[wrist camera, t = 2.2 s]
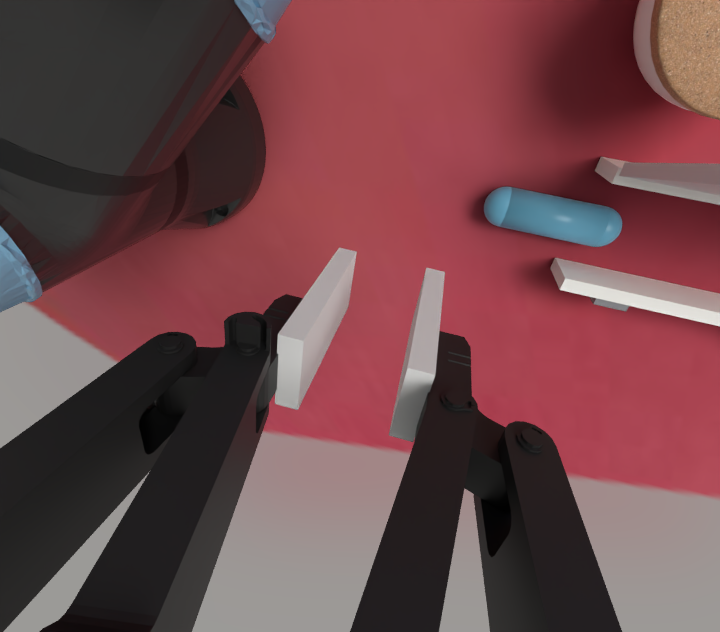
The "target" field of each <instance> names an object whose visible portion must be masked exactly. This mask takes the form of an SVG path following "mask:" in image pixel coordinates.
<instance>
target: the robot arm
mask: <svg viewBox="0 0 720 632" xmlns="http://www.w3.org/2000/svg"><path fill="white" fill-rule="evenodd" d="M290 2H291V0H0V312H2V311H4V310H6V309H8V308H10V307H13V306H15V305H17V304H19V303H22V302H33V301H35V300H36V299H38V298H39V297H40V296H42V293H43V292H44V291H46V290H48V289H50V288H52V287H54V286H56V285H58V284H60V283H62V282H63V281H65V280H67V279H69V278H71V277H73V276H75V275H77V274H79V273H80V272H82V271H84V270H86V269H88V268H90V267H92V266H94V265H96V264H98V263H99V262H101V261H103V260H105V259H107V258H109V257H111V256H113V255H115V254H116V253H118V252H120V251H122V250H124V249H126V248H128V247H130V246H132V245H134V244H135V243H137V242H139V241H141V240H143V239H145V238H147V237H149V236H151V235H153V234H154V233H156V232H158V231H160V230H166V229H197V228H205V227H210V226H213V225H216V224H219V223H221V222H223V221H225V220H227V219H228V218H230V217H232V216H233V215H235V214H236V213H238V212H239V211H241V210H242V209H243V208H244V207H245V206H246V205H247V204H248V203H249V202H250V201H251V199H252V198H253V197H254V195H255V193H256V191H257V190H258V187H259V185H260V182H261V180H262V176H263V172H264V167H265V157H266V146H265V136H264V130H263V125H262V121H261V118H260V114H259V111H258V108H257V106H256V104H255V101H254V99H253V97H252V95H251V93H250V91H249V89H248V87H247V86H246V84H245V82H244V81H243V79H242V78H241V76H240V74H241V73H242V71H243V70H244V69H245V67H246V66H247V65H248V64H249V62H250V61H251V60H252V58H253V57H254V56H255V54H256V53H257V52H258V50H259V49H260V48H261V46H262V45H263V44H264V43H265V42H266V43H267V44H269V43H270V42H271V40H272V39H273V38H274V36H275V34H276V24H277V23H278V21H279V20H280V18H281V16H282V15H283V13H284V12H285V10H286V8H287V7H288V5H289V4H290ZM356 253H357V252H356V251H351V250H347V249H343V248H339V249H338V250H337V251H336V253H335V254H334V256H333V257H332V259H331V260H330V261H329V263H328V264H327V266H326V267H325V268H324V270H323V271H322V273H321V274H320V275H319V277H318V278H317V280H316V281H315V283H314V284H313V285H312V287H311V288H310V290H309V291H308V292H307V294H306V295H305V297H304V298H299V297H295V296H291V295H287V294H286V295H284V296H282V297H280V298H278V299H276V300H274V302H273V303H272V304H271V305H270V306H269V308H268V309H267V310H266V311H265V312H264V314H263V315H262V314H259V313H255V312H241V313H236V314H234V315H231V316H229V317H228V318H227V319H226V320H225V321H224V329H225V346H224V347H218V348H209V347H196V341H195V340H194V338H193V337H192V336H190V335H188V334H186V333H181V332H168V333H164V334H160V335H157V336H156V337H154V338H152V339H150V340H149V341H147V342H146V343H145V344H143V345H142V346H141V347H139V348H138V349H136V350H135V351H134V352H132V353H131V354H130V355H128V356H127V357H125V358H124V359H123V360H121V361H120V362H119V363H117V364H116V365H114V366H113V367H112V368H111V369H109V370H108V371H106V372H105V373H103V374H102V375H101V376H100V377H98V378H97V379H95V380H94V381H92V382H91V383H90V384H88V385H87V386H86V387H84V388H83V389H81V390H80V391H79V392H77V393H76V394H75V395H73V396H72V397H70V398H69V399H68V400H66V401H65V402H64V403H62V404H61V405H60V406H58V407H57V408H56V409H54V410H53V411H51V412H50V413H49V414H47V415H46V416H44V417H43V418H42V419H40V420H39V421H38V422H36V423H35V424H33V425H32V426H31V427H29V428H28V429H26V430H25V431H24V432H22V433H21V434H20V435H19V436H17V437H15V438H14V439H13V440H11V441H10V442H9V443H7V444H6V445H4V446H3V447H2V448H0V632H3V631H4V630H5V629H6V628H7V627H8V626H9V625H10V624H11V622H12V621H13V620H14V619H15V618H16V617H17V616H18V615H19V614H20V613H21V612H22V610H23V609H24V608H25V607H26V606H27V605H28V604H29V603H30V602H31V601H32V599H33V598H34V597H35V596H36V595H37V594H38V593H39V592H40V591H41V590H42V588H43V587H44V586H45V585H46V584H47V583H48V582H49V581H50V580H51V579H52V578H53V577H54V575H55V574H56V573H57V572H58V571H59V570H60V569H61V568H62V567H63V566H64V564H65V563H66V562H67V561H68V560H69V559H70V558H71V557H72V556H73V555H74V554H75V552H76V551H77V550H78V549H79V548H80V547H81V546H82V545H83V544H84V543H85V541H86V540H87V539H88V538H89V537H90V536H91V535H92V534H93V533H94V531H96V529H97V528H98V527H99V526H100V525H101V524H102V523H103V522H104V521H105V519H106V518H107V517H108V516H109V515H110V514H111V513H112V512H113V511H114V510H115V509H116V508H117V506H118V505H119V504H120V503H121V502H122V501H123V500H124V499H125V498H126V496H127V495H128V494H129V493H130V492H131V491H132V490H133V489H134V488H135V487H136V486H137V484H138V483H139V482H140V481H141V480H142V479H143V478H144V477H145V476H146V475H147V474H148V472H149V471H150V470H151V471H150V472H149V474H148V476H147V478H146V479H145V481H144V483H143V484H142V486H141V488H140V490H139V491H138V493H137V495H136V496H135V498H134V500H133V501H132V503H131V505H130V506H129V508H128V510H127V511H126V513H125V515H124V516H123V518H122V520H121V522H120V523H119V525H118V527H117V528H116V530H115V532H114V533H113V535H112V537H111V538H110V540H109V542H108V543H107V545H106V547H105V549H104V550H103V552H102V554H101V555H100V557H99V559H98V561H97V562H96V564H95V565H94V567H93V569H92V571H91V572H90V574H89V576H88V577H87V579H86V581H85V582H84V584H83V586H82V588H81V589H80V591H79V592H78V594H77V596H76V598H75V599H74V601H73V603H72V604H71V606H70V607H69V609H68V610H67V612H66V613H65V614H64V615H63V616H62V617H61V618H60V619H59V620H58V621H56V622H55V623H53V624H51V625H49V626H47V627H45V628H43V629H42V630H41V631H40V632H192V629H193V627H194V624H195V621H196V618H197V615H198V612H199V609H200V607H201V604H202V601H203V598H204V595H205V593H206V590H207V587H208V584H209V581H210V578H211V576H212V573H213V569H214V567H215V564H216V561H217V558H218V556H219V553H220V550H221V547H222V544H223V541H224V539H225V536H226V533H227V530H228V527H229V525H230V522H231V519H232V516H233V513H234V510H235V507H236V505H237V502H238V499H239V496H240V493H241V491H242V488H243V485H244V482H245V479H246V476H247V473H248V471H249V468H250V465H251V462H252V459H253V457H254V454H255V451H256V448H257V445H258V442H259V440H260V437H261V434H262V431H263V428H264V425H265V423H266V420H267V417H268V414H269V402H270V400H271V398H272V397H273V395H274V393H275V404H278V405H282V406H285V407H289V408H292V409H296V410H298V408H299V406H300V404H301V402H302V400H303V398H304V396H305V394H306V392H307V390H308V388H309V386H310V384H311V382H312V380H313V378H314V376H315V374H316V372H317V370H318V368H319V366H320V364H321V362H322V359H323V357H324V355H325V353H326V351H327V349H328V347H329V345H330V343H331V341H332V339H333V337H334V335H335V333H336V331H337V329H338V327H339V325H340V323H341V321H342V319H343V317H344V315H345V313H346V311H347V309H348V305H349V299H350V292H351V286H352V279H353V273H354V266H355V260H356ZM444 276H445V272H443V271H438V270H434V269H430V268H426V271H425V275H424V279H423V283H422V286H421V290H420V294H419V298H418V302H417V305H416V309H415V313H414V317H413V320H412V325H411V329H410V334H409V339H408V344H407V349H406V354H405V359H404V364H403V368H402V373H401V378H400V383H399V388H398V393H397V398H396V402H395V407H394V412H393V417H392V422H391V427H390V432H389V435H390V436H393V437H397V438H400V439H404V440H408V441H411V442H413V441H414V438H415V442H414V445H413V448H412V451H411V454H410V457H409V460H408V463H407V466H406V469H405V472H404V475H403V478H402V481H401V484H400V487H399V490H398V492H397V495H396V499H395V501H394V504H393V507H392V510H391V513H390V516H389V519H388V522H387V525H386V528H385V531H384V534H383V537H382V540H381V542H380V545H379V548H378V551H377V554H376V557H375V560H374V563H373V566H372V569H371V572H370V575H369V578H368V581H367V584H366V587H365V590H364V592H363V595H362V598H361V601H360V604H359V607H358V610H357V613H356V616H355V619H354V622H353V625H352V628H351V631H350V632H439V627H440V621H441V616H442V610H443V604H444V598H445V593H446V588H447V582H448V576H449V570H450V565H451V559H452V554H453V548H454V543H455V537H456V532H457V526H458V520H459V515H460V509H461V503H462V498H463V492H464V488H465V489H467V490H468V491H470V492H472V493H473V494H474V503H475V511H476V519H477V528H478V536H479V544H480V552H481V560H482V568H483V577H484V585H485V593H486V601H487V609H488V617H489V626H490V632H622V630H621V628H620V625H619V622H618V619H617V616H616V614H615V611H614V608H613V605H612V602H611V600H610V597H609V594H608V591H607V588H606V585H605V582H604V580H603V577H602V574H601V571H600V568H599V566H598V563H597V560H596V557H595V554H594V552H593V549H592V546H591V543H590V540H589V537H588V535H587V532H586V529H585V526H584V523H583V520H582V518H581V515H580V512H579V509H578V506H577V504H576V501H575V498H574V495H573V493H572V489H571V487H570V484H569V481H568V478H567V475H566V473H565V470H564V467H563V464H562V461H561V458H560V456H559V453H558V450H557V447H556V445H555V443H554V442H553V440H552V438H551V437H550V436H549V435H548V434H547V433H546V432H545V431H543V430H542V429H540V428H538V427H537V426H535V425H533V424H530V423H527V422H519V421H515V422H513V423H510V424H508V426H507V427H506V428H505V427H504V426H502V425H500V424H498V423H496V422H494V421H492V420H490V419H489V418H487V417H486V416H484V415H483V414H482V413H481V412H480V411H479V410H478V406H477V403H476V401H475V400H474V398H473V397H472V390H471V367H470V366H471V359H470V358H471V351H470V346H469V344H468V343H467V341H466V339H465V338H464V337H461V336H457V335H453V334H449V333H445V332H441V331H439V330H440V319H441V308H442V298H443V287H444Z"/></svg>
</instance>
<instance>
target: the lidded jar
mask: <svg viewBox="0 0 720 632" xmlns="http://www.w3.org/2000/svg"><path fill="white" fill-rule="evenodd" d="M633 43H634V53H635V57H636V61H637V64H638V67H639V69H640V71H641V73H642V75H643V77H644V79H645V80H646V81H647V83H648V84H649V85H650V86H651V87H652V89H653V90H654V91H655V92H656V93H657V94H659V95H660V96H661V97H663V98H664V99H665V100H667V101H668V102H670V103H672V104H674V105H676V106H678V107H681V108H683V109H685V110H689V111H693V112H695V113H697V114H699V115H702V116H706V117H710V118H714V119H718V120H720V0H640V1H639V4H638V7H637V11H636V16H635V21H634V33H633Z"/></svg>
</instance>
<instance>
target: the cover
mask: <svg viewBox="0 0 720 632" xmlns="http://www.w3.org/2000/svg"><path fill="white" fill-rule="evenodd" d="M619 176H622V177H627V178H632V179H637V180H642V181H648V182H653V183H658V184H663V185H668V186H673V187H678V188H683V189H688V190H694V191H699V192H704V193H709V194H714V195H719V196H720V164H696V163H624V165H623V168H622V170H621V172H620V175H619Z"/></svg>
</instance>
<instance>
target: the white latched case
mask: <svg viewBox="0 0 720 632" xmlns="http://www.w3.org/2000/svg"><path fill="white" fill-rule="evenodd" d="M624 163H632V162H627V161H622V160H616V159H611V158H606V157H601V158H600V160H599V162H598V164H597V166H596V169H595V172H597V173H598V174H599V175H601V176H602V177H603V178H605V179H606V180H607V181H609V182H610V183H611V184H616V185H621V186H626V187H631V188H637V189H642V190H647V191H652V192H657V193H662V194H667V195H672V196H677V197H682V198H687V199H692V200H697V201H702V202H707V203H712V204H717V205H720V196H719V195H714V194H709V193H704V192H699V191H694V190H688V189H683V188H678V187H673V186H668V185H663V184H658V183H653V182H648V181H642V180H637V179H632V178H627V177H622V176H619V175H620V172H621V170H622V168H623V165H624ZM550 269H551V271H552V274H553V276H554V278H555V280H556V283H557V285H558V287H559V289H560V290H562V291H567V292H571V293H575V294H580V295H584V296H589V297H590V299H591V301H592V303H593V304H595V305H600V306H604V307H608V308H613V309H617V310H622V311H626V310H627V309H628V307H629V306H633V307H637V308H641V309H646V310H650V311H654V312H659V313H663V314H668V315H672V316H676V317H681V318H685V319H690V320H694V321H698V322H703V323H707V324H712V325H716V326H720V294H719V293H714V292H710V291H705V290H701V289H696V288H692V287H687V286H682V285H678V284H673V283H669V282H664V281H660V280H655V279H651V278H646V277H642V276H637V275H632V274H628V273H623V272H619V271H614V270H610V269H605V268H601V267H596V266H591V265H587V264H582V263H578V262H573V261H569V260H564V259H560V258H555V259H554V261H553V263H552V265H551V268H550Z"/></svg>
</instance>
